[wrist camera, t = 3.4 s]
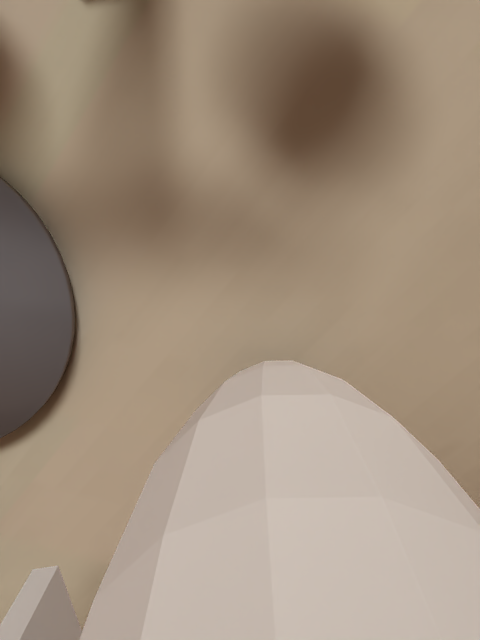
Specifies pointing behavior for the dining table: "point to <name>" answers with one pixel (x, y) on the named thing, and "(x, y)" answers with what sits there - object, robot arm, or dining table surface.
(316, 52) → the dining table surface
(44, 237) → the grey flat disc
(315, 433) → the cup
